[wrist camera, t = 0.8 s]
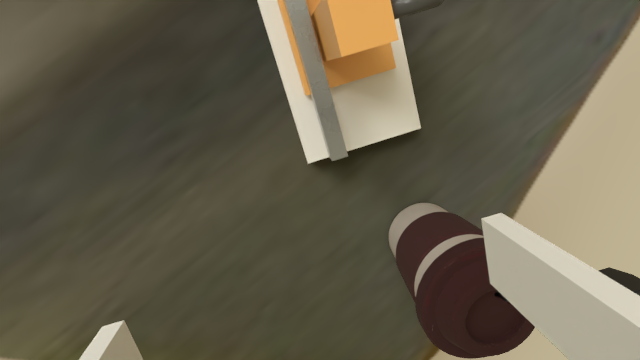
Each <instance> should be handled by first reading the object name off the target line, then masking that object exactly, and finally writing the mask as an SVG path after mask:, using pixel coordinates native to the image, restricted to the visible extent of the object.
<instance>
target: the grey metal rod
mask: <svg viewBox="0 0 640 360" xmlns="http://www.w3.org/2000/svg"><path fill="white" fill-rule="evenodd" d="M283 1H284V4H285V7H286V11H287V14H288V18H289V21H290V25H291V28H292V31H293V35H294V38H295V42H296V45H297V49H298V52H299V56H300V59H301V62H302V66H303V69H304V73H305V76H306V80H307V83H308V87H309V90H310V93H311V97H312V100H313V104H314V107H315V111H316V114H317V118H318V121H319V124H320V128H321V131H322V135H323V138H324V142H325V145H326V149H327V152H328V155H329V157H330V159H331V160H332V161H335V160H338V159H341V158H344V157H348V154H347V150H346V146H345V143H344V139H343V135H342V132H341V128H340V124H339V121H338V117H337V113H336V110H335V106H334V103H333V99H332V95H331V92H330V88H329V84H328V81H327V77H326V73H325V70H324V66H323V62H322V59H321V55H320V51H319V48H318V44H317V40H316V37H315V33H314V29H313V26H312V22H311V18H310V15H309V11H308V7H307V4H306V0H283Z"/></svg>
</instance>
